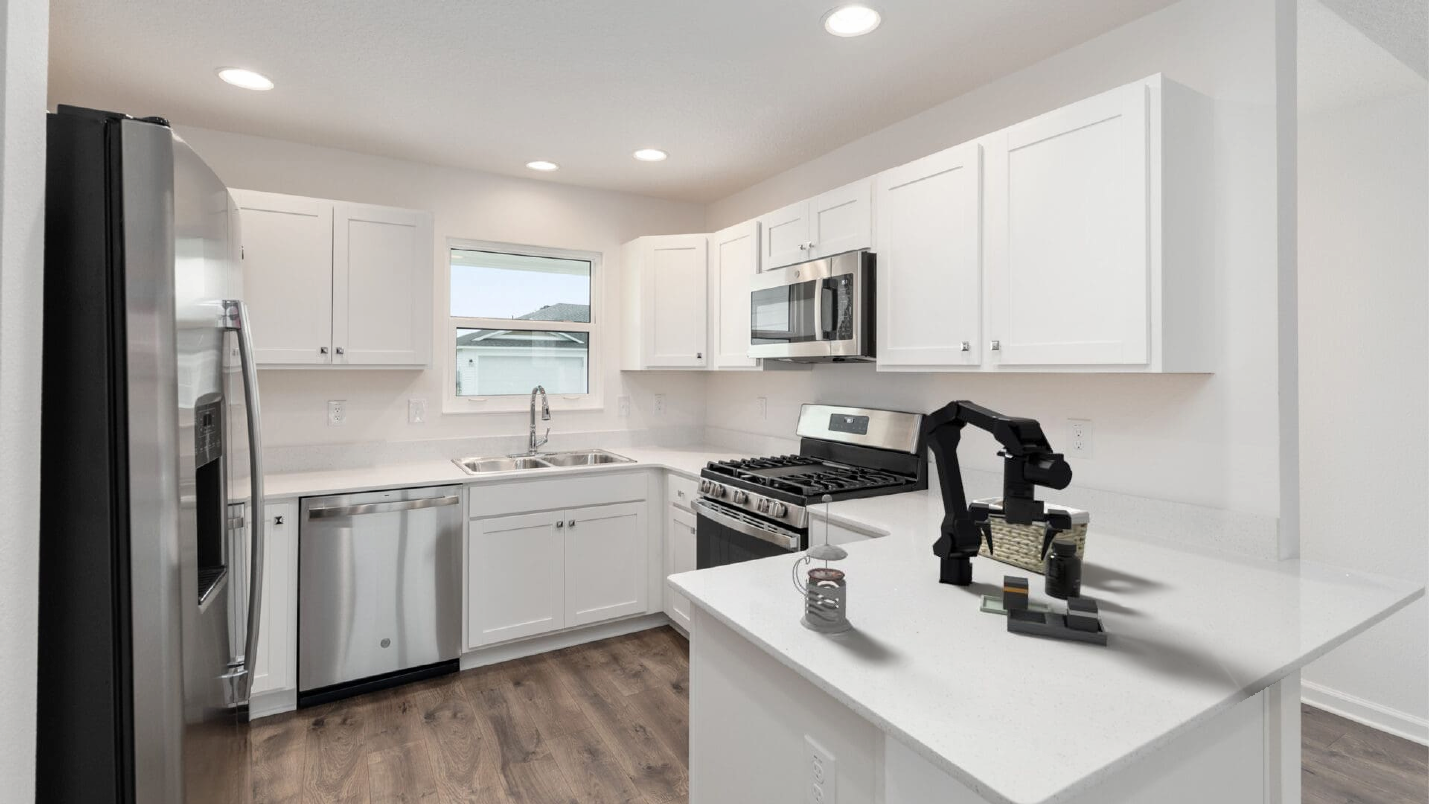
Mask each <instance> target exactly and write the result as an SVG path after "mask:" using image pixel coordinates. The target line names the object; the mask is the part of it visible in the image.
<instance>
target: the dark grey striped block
mask: <svg viewBox="0 0 1429 804" xmlns="http://www.w3.org/2000/svg"><path fill="white" fill-rule="evenodd" d="M1002 585H1003V586H1002V587H1003V588H1002V590H1003V591H1002V592H1003V595H1002V598H1003V610H1007V606H1009V607H1016V608H1024V609H1028V601H1029V594H1030V593H1029V592H1030V589H1029V587H1030V586H1029V578H1028V577H1021V576H1013V575H1005V574H1004V575H1003V583H1002Z"/></svg>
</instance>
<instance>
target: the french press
mask: <svg viewBox="0 0 1429 804" xmlns="http://www.w3.org/2000/svg"><path fill="white" fill-rule="evenodd" d="M821 500H822V502H826V520H825V521H826V522H825V523H826V527H825V528H826V529H825V530H826V531H825V532H826V534H825V541H826V542H825V543H819V544H815V545H813V546H811V547H809V548H807V549H806V550H805V552H804V553H805V554H806V555H804V556H802V557H801V558H799V559H798V560H797V561H795V563H794V565H793V567H792V571H791V572H792V580H793V584H794V587H795V588H796V589H797V591H798V592H799V593H801V594H802V596H804V615H803V616H802V617H801V618H800V620H799V623H800V625H801V626H802V627H804V628H806V629H807V630H810V631H812V632H817V633H818V632H819V633H825V634H829V633H830V634H833V633H834V634H836V633H841V632H845V631H847V630H850V629H851V626H852V623H851V622H850V620H849V619H848V618H847V615H846V614H847V609H846V608H847V581H846V579H844V577H845V576H846V574H845V573H844V571H842V570H839V569H835V568H831V567H830V568H829V567H827V566H828V561H829V562H834V561H842V560H844V559H847V557H848V556H849V553H848V552H847V551H846V550H845V549H843V548H842V547H840V546H837V545H836V544H831V543H828V514H829V513H828V511H829V510H828V508H829V502H833V497H832V496H831V495H830V494H824V495H823V496H822V499H821ZM807 558H808V559H807ZM811 559H813V560H814V559H815V560H819V561H825V567H816V568H811V569H809V570H808V571H807V575H808V579H807V578H806V579H805V588H804V586H803V585H802V584H801V582H800V580H799V576H798V567H799V565H800V563H801V561H803V560H804V561H805V565H809V563H811ZM795 576H796V580H797V583H798V585H799V586H800V587H801V589H803V591H805V593H804V592H803V591H802V590H800V589H799V587H798V586H797V583H796V581H795ZM821 582H833V583H835V584H836V585H837V587H836V585H834V584H831V583H822V584H819V583H821ZM819 596H821V597H819ZM827 600H829V601H832V602H829V601H827Z"/></svg>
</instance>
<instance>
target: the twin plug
mask: <svg viewBox="0 0 1429 804" xmlns="http://www.w3.org/2000/svg"><path fill="white" fill-rule="evenodd" d="M1066 614H1067V627H1069V628H1076V629H1083V630H1089V631H1096V632H1097V630H1098V619H1099V607H1098V604H1097V601H1096V600H1095V599H1087V598H1081V597H1080V598H1074V597H1068V600H1066Z"/></svg>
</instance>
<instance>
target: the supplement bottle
mask: <svg viewBox="0 0 1429 804" xmlns="http://www.w3.org/2000/svg"><path fill="white" fill-rule="evenodd" d="M1051 549H1052V550H1053V551H1052V552H1050V553H1048V554H1047V556H1046V573H1045V574H1044V575H1045V576H1044V577H1045V578H1044V593H1045V594H1046V595H1047V596H1049V597H1052V598H1055V599H1058V600H1065V601H1068V597H1074V598H1081V590H1082V589H1081V585H1082V566H1081V559H1080V558H1079V556H1077V555H1076V554H1075V553H1076V552H1077V543H1075V542H1072V541H1067V540H1052V546H1051Z"/></svg>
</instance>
